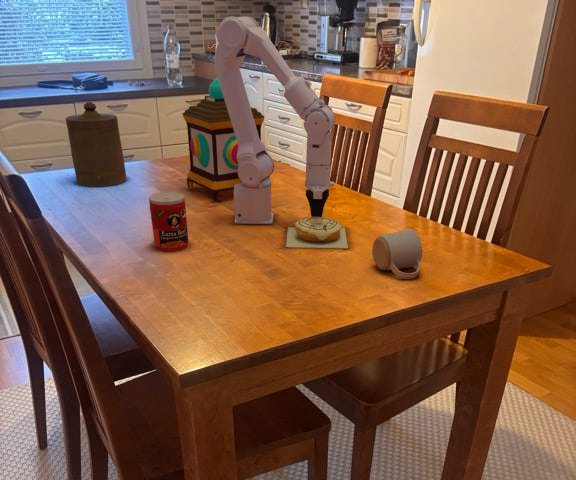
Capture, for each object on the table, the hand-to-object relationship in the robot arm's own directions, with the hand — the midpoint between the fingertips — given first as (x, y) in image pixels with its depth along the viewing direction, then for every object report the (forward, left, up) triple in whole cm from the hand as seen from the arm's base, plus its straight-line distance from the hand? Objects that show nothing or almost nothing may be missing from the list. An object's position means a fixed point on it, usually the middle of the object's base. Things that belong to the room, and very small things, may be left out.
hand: (316, 220), depth 144 cm
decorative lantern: (-26, +30, -2) cm, 40 cm away
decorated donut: (0, -9, -1) cm, 9 cm away
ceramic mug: (+17, -28, -2) cm, 32 cm away
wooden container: (-66, +40, -2) cm, 77 cm away
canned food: (-33, -16, -2) cm, 37 cm away
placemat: (0, -9, -1) cm, 9 cm away
